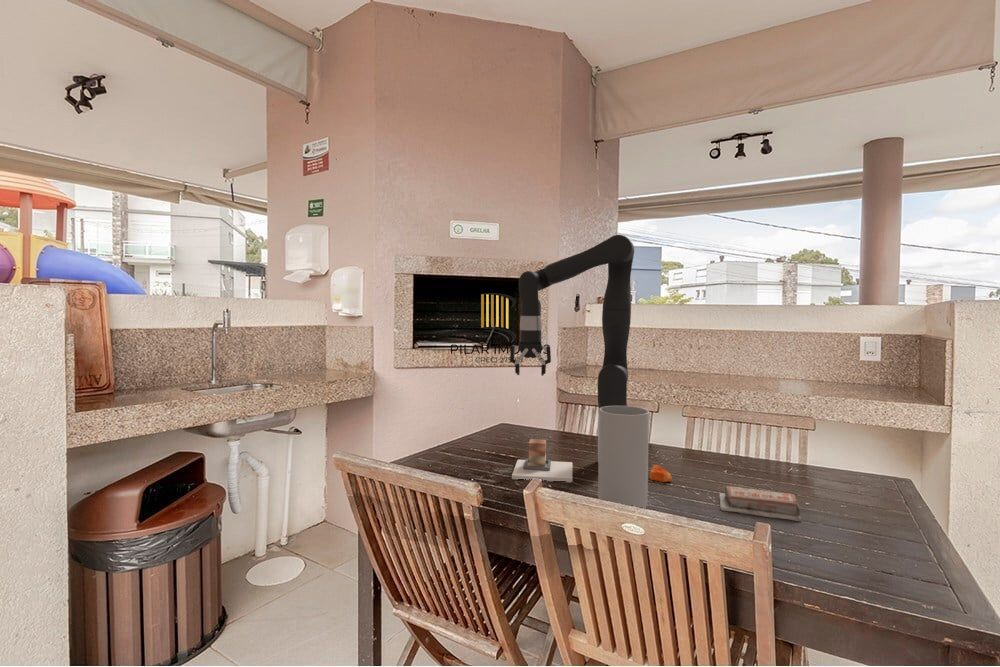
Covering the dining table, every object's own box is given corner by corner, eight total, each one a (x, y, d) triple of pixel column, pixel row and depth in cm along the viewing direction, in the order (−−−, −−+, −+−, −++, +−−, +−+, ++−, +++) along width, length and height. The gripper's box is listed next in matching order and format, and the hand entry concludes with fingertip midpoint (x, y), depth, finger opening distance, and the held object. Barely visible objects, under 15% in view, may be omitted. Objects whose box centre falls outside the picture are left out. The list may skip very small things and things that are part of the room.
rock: (674, 492, 141) (674, 477, 141) (633, 482, 149) (633, 468, 148) (686, 480, 151) (686, 466, 151) (647, 472, 158) (647, 459, 158)
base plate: (572, 465, 162) (572, 459, 162) (572, 482, 146) (572, 475, 146) (517, 463, 165) (517, 456, 165) (511, 479, 149) (511, 471, 149)
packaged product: (794, 490, 129) (802, 504, 120) (794, 508, 129) (801, 523, 120) (719, 481, 136) (720, 493, 126) (718, 498, 136) (720, 512, 127)
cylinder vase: (605, 493, 138) (607, 404, 137) (651, 501, 132) (653, 408, 131) (591, 508, 127) (593, 412, 126) (641, 518, 121) (643, 417, 120)
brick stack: (545, 464, 160) (546, 439, 160) (544, 469, 155) (545, 443, 155) (530, 463, 161) (530, 438, 160) (528, 468, 156) (529, 443, 155)
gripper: (551, 328, 176) (551, 374, 177) (511, 328, 178) (511, 373, 179) (550, 329, 169) (550, 377, 169) (509, 329, 171) (508, 376, 171)
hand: (530, 375), depth 174 cm, fingers open, 8 cm apart
